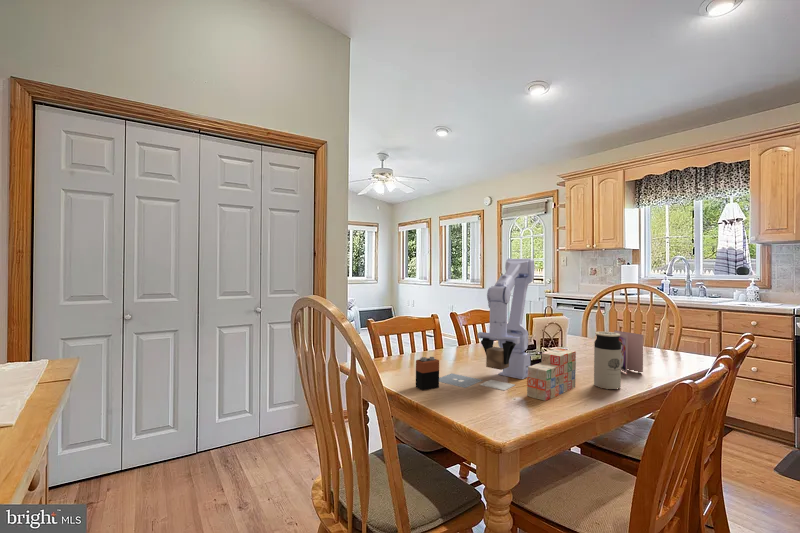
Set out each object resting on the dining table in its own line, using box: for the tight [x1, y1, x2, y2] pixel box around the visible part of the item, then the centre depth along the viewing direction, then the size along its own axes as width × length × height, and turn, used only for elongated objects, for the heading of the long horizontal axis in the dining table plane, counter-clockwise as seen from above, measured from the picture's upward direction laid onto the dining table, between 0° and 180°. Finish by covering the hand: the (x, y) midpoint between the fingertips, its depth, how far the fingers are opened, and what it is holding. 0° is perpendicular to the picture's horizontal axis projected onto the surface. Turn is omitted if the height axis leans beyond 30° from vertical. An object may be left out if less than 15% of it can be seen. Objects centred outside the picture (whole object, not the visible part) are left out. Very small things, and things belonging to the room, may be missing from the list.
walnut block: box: [485, 346, 509, 371], centre depth 135 cm, size 6×6×6 cm
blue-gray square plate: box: [439, 372, 484, 389], centre depth 141 cm, size 13×12×1 cm
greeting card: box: [614, 330, 644, 374], centre depth 155 cm, size 11×7×15 cm, turn 174°
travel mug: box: [593, 331, 622, 390], centre depth 135 cm, size 8×8×18 cm
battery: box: [415, 356, 440, 391], centre depth 132 cm, size 4×7×10 cm, turn 121°
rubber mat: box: [479, 379, 516, 392], centre depth 135 cm, size 9×8×1 cm
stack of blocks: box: [526, 348, 577, 401], centre depth 130 cm, size 21×6×12 cm, turn 134°
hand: (497, 362), depth 135 cm, fingers closed on walnut block, 5 cm apart
